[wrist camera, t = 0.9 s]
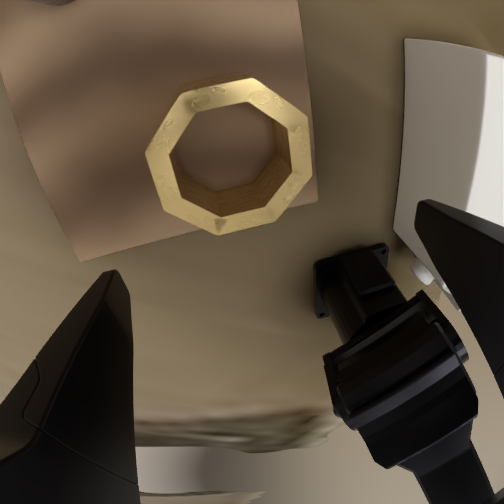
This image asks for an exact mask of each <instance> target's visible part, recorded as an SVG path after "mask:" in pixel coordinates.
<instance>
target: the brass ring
mask: <svg viewBox="0 0 504 504" xmlns="http://www.w3.org/2000/svg"><path fill="white" fill-rule="evenodd" d="M247 101H248V102H249V103H251V104H252V105H254V106H255V107H257V108H258V109H260V110H261V111H263V112H264V113H266V114H267V115H269V116H270V117H271V118H272V125H273V132H274V139H275V146H276V152H275V154H274V155H273V156H272V158H271V159H270V160H269V162H268V163H267V164H266V166H265V167H264V168H263V170H262V171H261V172H260V174H259V175H258V176H257V178H256V179H255V180H254V182H251V183H247V184H242V185H238V186H234V187H230V188H225V189H221V190H217V191H214V190H212V189H210V188H208V187H206V186H205V185H203V184H201V183H199V182H197V181H195V180H193V179H191V178H189V177H187V176H185V175H183V174H181V170H180V167H179V163H178V160H177V156H176V153H175V149H174V146H175V144H176V142H177V141H178V139H179V138H180V136H181V135H182V133H183V131H184V130H185V128H186V127H187V125H188V124H189V122H190V121H191V119H192V117H193V116H194V114H195V113H196V112H200V111H205V110H209V109H213V108H218V107H222V106H227V105H232V104H237V103H242V102H247ZM145 155H146V159H147V162H148V165H149V168H150V171H151V174H152V177H153V180H154V183H155V186H156V189H157V192H158V195H159V198H160V201H161V204H162V207H163V210H165V212H168V213H170V214H172V215H174V216H176V217H178V218H180V219H183V220H185V221H187V222H189V223H191V224H193V225H195V226H198V227H200V228H202V229H204V230H206V231H208V232H210V233H212V234H215V235H217V234H218V235H222V234H226V233H230V232H234V231H238V230H242V229H247V228H251V227H255V226H259V225H263V224H267V223H271V222H275V221H276V220H277V219H278V218H279V216H280V215H281V214H282V213H283V211H284V210H285V209H286V208H287V206H288V205H289V204H290V203H291V202H292V200H293V199H294V198H295V197H296V195H297V194H298V193H299V192H300V190H301V189H302V188H303V187H304V185H305V184H306V183H307V182H308V180H309V179H310V178H311V177H312V163H311V151H310V139H309V128H308V118H307V116H306V115H305V114H303V113H302V112H301V111H299V110H298V109H297V108H295V107H294V106H293V105H291V104H290V103H289V102H287V101H286V100H285V99H283V98H282V97H280V96H279V95H278V94H276V93H275V92H273V91H272V90H270V89H269V88H268V87H266V86H265V85H263V84H262V83H260V82H259V81H257V80H256V79H254V78H252V77H250V76H248V75H246V74H244V73H241V72H240V73H235V74H229V75H224V76H219V77H214V78H210V79H205V80H201V81H197V82H192V83H188V84H184V85H182V86H181V87H180V88H179V90H178V92H177V93H176V95H175V96H174V98H173V99H172V101H171V102H170V104H169V106H168V107H167V109H166V110H165V112H164V114H163V115H162V117H161V118H160V120H159V122H158V123H157V125H156V127H155V129H154V130H153V132H152V134H151V136H150V139H149V142H148V145H147V148H146V151H145Z"/></svg>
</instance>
